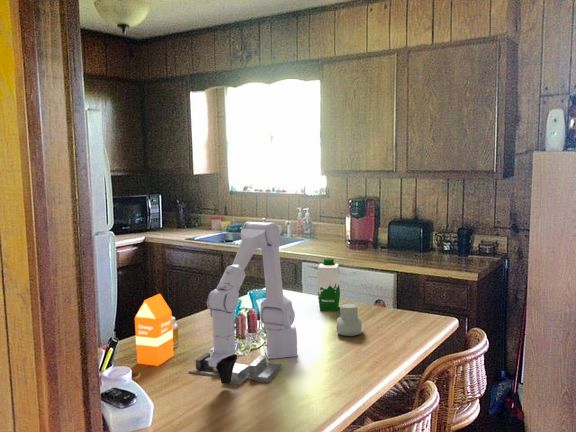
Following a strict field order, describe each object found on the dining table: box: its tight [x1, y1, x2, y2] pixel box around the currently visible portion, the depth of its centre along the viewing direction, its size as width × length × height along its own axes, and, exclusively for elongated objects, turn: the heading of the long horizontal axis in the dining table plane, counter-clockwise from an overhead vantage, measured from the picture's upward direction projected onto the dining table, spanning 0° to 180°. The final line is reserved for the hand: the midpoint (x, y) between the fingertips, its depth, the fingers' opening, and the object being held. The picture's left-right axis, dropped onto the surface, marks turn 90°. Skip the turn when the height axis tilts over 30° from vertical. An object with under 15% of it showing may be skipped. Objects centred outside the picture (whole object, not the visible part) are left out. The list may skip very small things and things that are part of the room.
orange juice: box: [134, 293, 175, 366], centre depth 167 cm, size 8×9×20 cm
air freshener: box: [336, 303, 362, 337], centre depth 186 cm, size 11×8×10 cm
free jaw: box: [195, 352, 218, 373], centre depth 159 cm, size 8×7×4 cm
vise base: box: [188, 354, 282, 384], centre depth 156 cm, size 25×10×4 cm, turn 70°
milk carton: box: [316, 257, 341, 312], centre depth 217 cm, size 9×9×20 cm
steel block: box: [229, 362, 250, 386], centre depth 150 cm, size 5×6×4 cm
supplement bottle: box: [172, 316, 180, 349], centre depth 179 cm, size 5×5×10 cm
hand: (225, 382), depth 144 cm, fingers closed
